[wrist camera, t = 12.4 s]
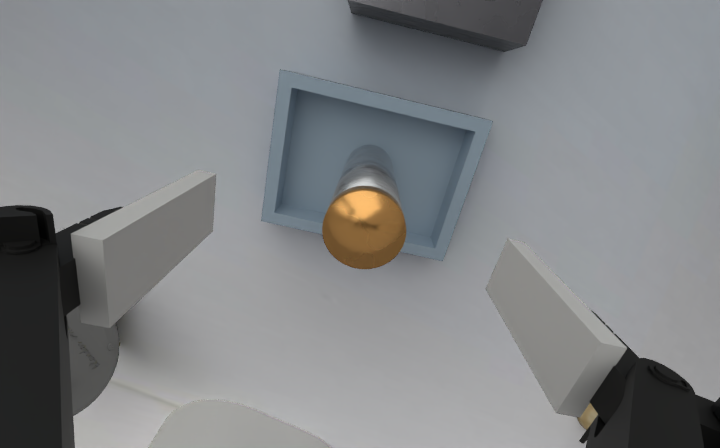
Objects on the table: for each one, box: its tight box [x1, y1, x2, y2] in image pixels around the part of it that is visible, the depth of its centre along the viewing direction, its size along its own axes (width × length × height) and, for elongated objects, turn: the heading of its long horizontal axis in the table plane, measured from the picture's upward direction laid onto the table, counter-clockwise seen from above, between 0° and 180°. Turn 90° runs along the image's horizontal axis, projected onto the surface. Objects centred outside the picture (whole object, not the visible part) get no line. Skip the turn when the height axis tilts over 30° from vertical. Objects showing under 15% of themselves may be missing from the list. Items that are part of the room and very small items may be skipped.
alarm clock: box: [67, 306, 120, 416], centre depth 29 cm, size 12×7×15 cm, turn 19°
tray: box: [261, 70, 493, 261], centre depth 28 cm, size 16×12×3 cm
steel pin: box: [322, 145, 406, 269], centre depth 23 cm, size 4×4×14 cm
